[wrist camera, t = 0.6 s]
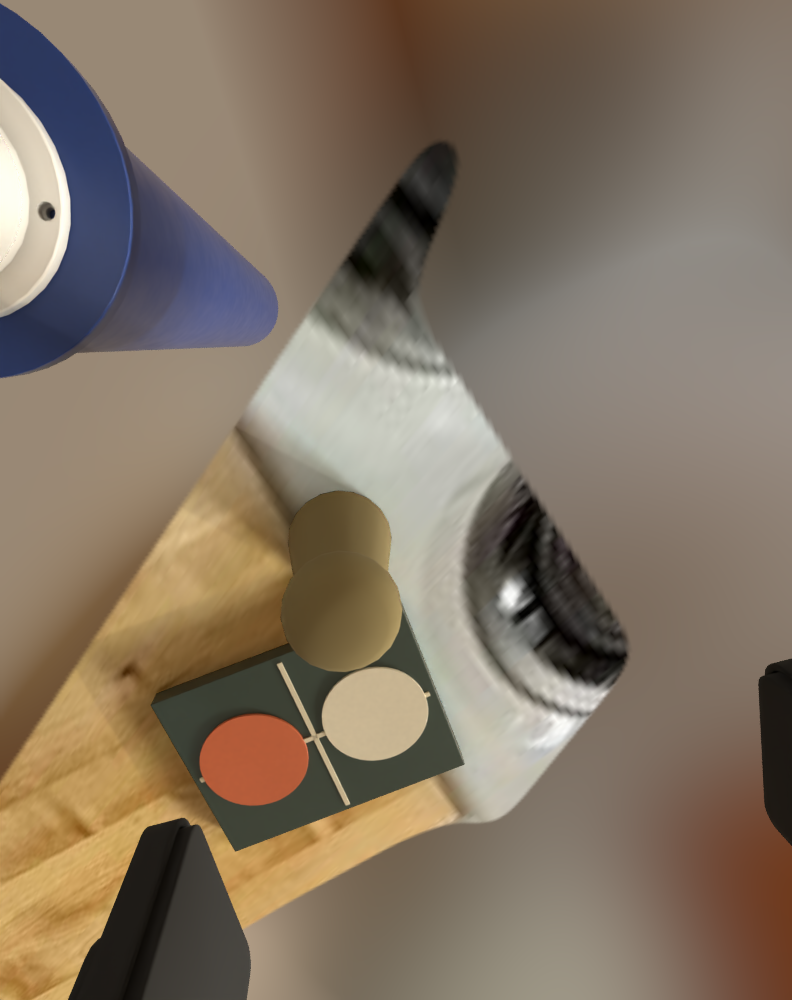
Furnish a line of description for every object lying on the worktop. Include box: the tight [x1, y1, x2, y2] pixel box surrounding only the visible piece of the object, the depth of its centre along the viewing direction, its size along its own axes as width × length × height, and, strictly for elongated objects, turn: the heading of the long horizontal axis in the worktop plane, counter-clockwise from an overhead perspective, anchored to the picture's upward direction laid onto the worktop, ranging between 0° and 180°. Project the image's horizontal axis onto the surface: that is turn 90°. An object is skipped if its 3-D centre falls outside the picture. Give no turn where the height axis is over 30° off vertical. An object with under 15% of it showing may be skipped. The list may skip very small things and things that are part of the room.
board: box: [151, 603, 465, 851], centre depth 36 cm, size 12×16×1 cm
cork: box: [281, 491, 402, 672], centre depth 28 cm, size 6×6×11 cm
